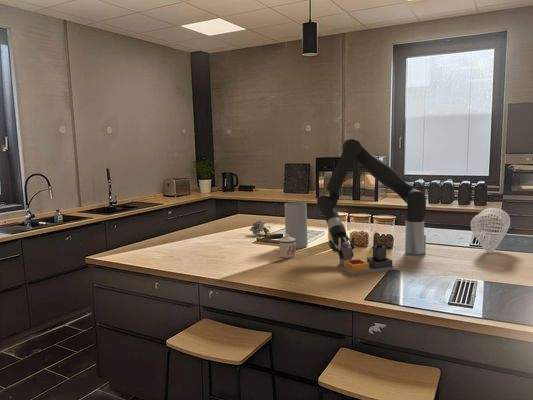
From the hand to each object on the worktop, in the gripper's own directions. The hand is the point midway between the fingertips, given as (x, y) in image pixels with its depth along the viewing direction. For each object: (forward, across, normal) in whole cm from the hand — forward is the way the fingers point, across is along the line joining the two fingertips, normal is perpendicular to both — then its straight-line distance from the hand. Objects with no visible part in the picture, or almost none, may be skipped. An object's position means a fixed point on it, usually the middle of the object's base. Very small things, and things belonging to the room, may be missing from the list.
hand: (347, 257), depth 203 cm
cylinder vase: (-29, -10, +35) cm, 46 cm away
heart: (+9, +76, -3) cm, 76 cm away
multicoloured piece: (+9, +6, -4) cm, 12 cm away
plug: (+2, 0, +4) cm, 5 cm away
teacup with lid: (-17, -20, +24) cm, 35 cm away
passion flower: (-56, -22, +62) cm, 86 cm away
